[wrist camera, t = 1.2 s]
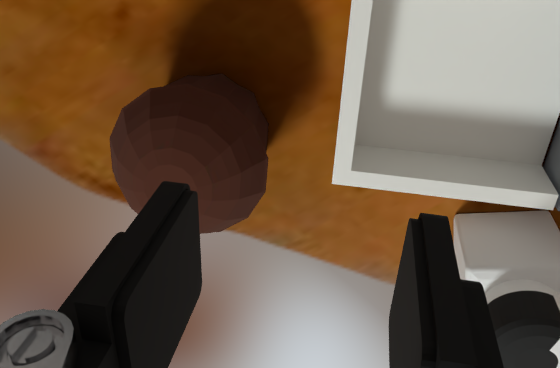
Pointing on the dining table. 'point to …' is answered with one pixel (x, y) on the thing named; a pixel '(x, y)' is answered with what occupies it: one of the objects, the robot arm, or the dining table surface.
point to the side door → (554, 164)
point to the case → (451, 99)
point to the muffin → (194, 147)
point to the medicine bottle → (515, 280)
